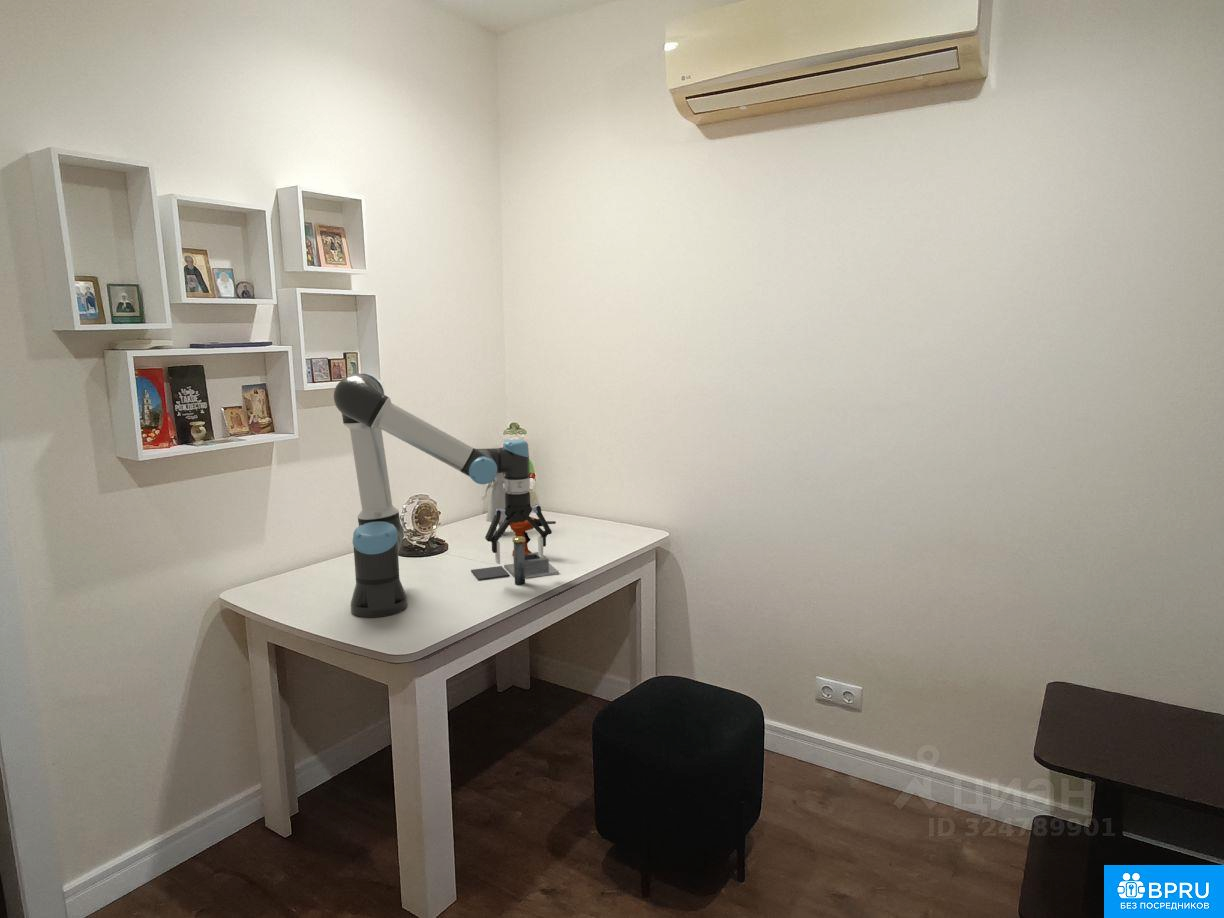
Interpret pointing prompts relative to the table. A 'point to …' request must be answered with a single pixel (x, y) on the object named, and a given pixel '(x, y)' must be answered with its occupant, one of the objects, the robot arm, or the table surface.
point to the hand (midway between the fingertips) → (519, 560)
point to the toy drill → (524, 526)
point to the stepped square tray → (534, 566)
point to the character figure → (496, 498)
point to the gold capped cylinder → (519, 560)
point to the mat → (490, 573)
